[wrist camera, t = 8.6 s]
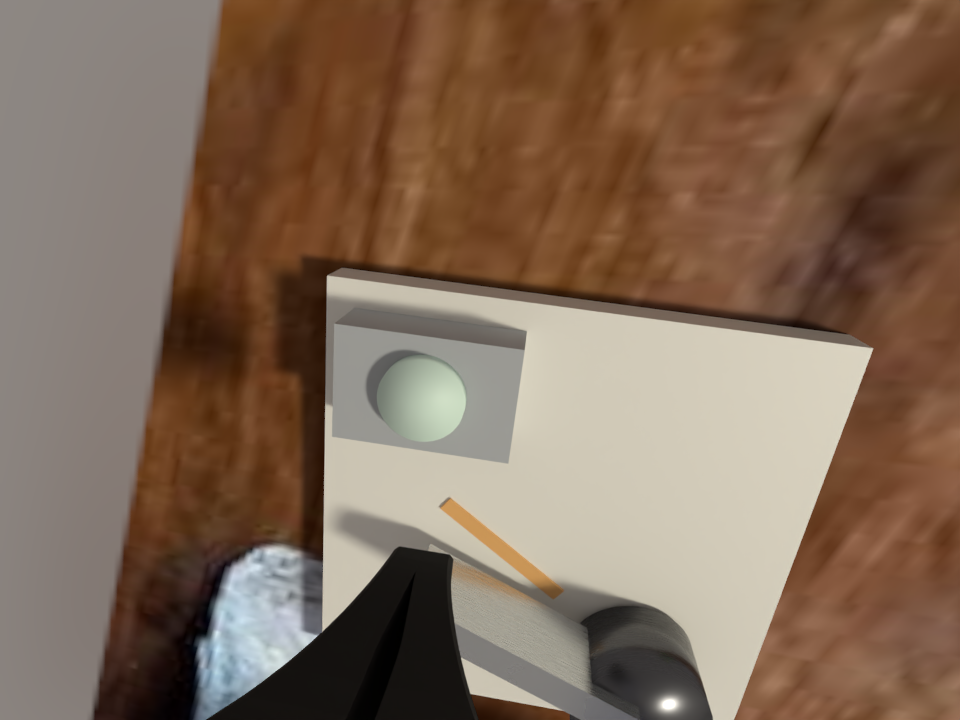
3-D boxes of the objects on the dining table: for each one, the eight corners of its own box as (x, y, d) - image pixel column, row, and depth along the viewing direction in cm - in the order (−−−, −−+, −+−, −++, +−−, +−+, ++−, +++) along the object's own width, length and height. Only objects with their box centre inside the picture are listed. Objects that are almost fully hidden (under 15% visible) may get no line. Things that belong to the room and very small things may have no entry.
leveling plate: (716, 708, 26) (745, 802, 22) (333, 640, 27) (298, 718, 23) (849, 334, 19) (922, 376, 16) (342, 267, 20) (296, 291, 17)
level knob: (718, 644, 22) (748, 727, 19) (644, 717, 24) (660, 805, 21) (455, 500, 21) (438, 562, 18) (398, 587, 23) (373, 658, 20)
